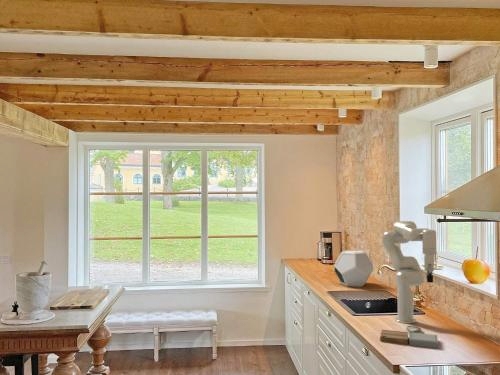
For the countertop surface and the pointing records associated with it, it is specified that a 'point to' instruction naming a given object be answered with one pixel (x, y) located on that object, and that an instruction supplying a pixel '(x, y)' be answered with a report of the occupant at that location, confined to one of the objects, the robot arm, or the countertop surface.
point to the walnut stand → (394, 337)
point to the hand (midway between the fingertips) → (429, 280)
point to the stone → (414, 329)
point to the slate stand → (423, 340)
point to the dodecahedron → (353, 268)
